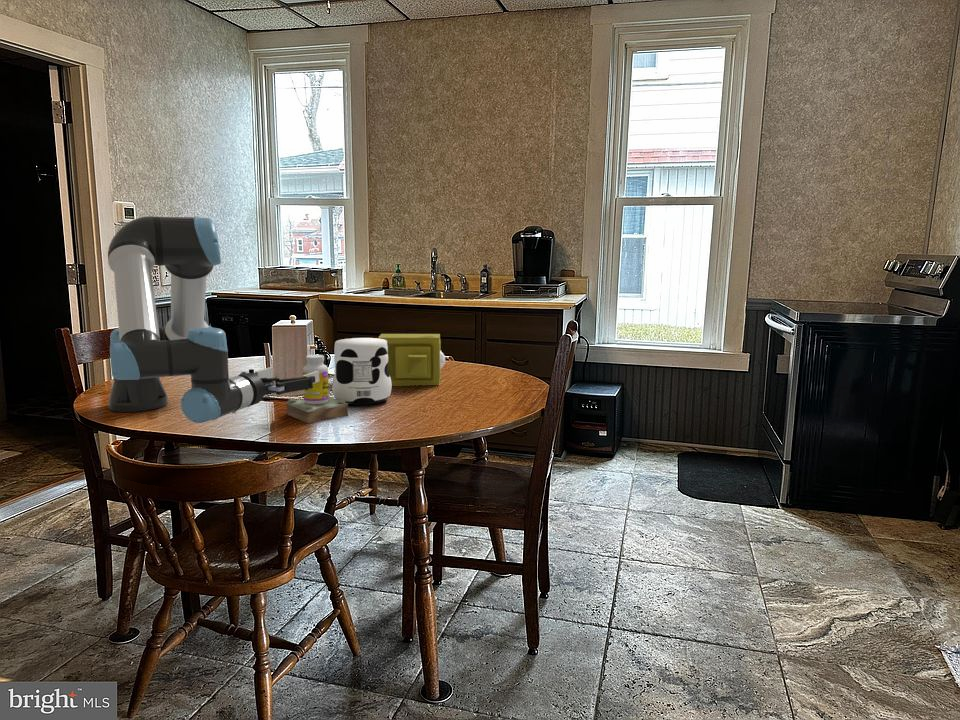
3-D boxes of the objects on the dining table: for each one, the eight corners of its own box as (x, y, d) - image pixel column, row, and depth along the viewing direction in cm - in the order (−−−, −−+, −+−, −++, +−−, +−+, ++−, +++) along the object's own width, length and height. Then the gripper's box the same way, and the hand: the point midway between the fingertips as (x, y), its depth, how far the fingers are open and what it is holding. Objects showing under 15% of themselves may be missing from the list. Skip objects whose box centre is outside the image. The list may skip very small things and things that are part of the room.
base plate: (307, 423, 177) (307, 407, 177) (287, 414, 186) (286, 399, 185) (347, 415, 185) (347, 401, 184) (326, 407, 194) (325, 393, 193)
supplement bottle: (325, 405, 182) (324, 358, 179) (301, 405, 182) (299, 358, 179) (331, 399, 188) (330, 354, 186) (307, 399, 188) (306, 353, 186)
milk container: (365, 392, 214) (363, 335, 211) (404, 400, 203) (403, 341, 200) (320, 402, 201) (318, 341, 197) (359, 411, 190) (357, 348, 187)
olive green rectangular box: (445, 333, 230) (444, 340, 214) (445, 380, 233) (444, 390, 217) (341, 333, 229) (332, 340, 213) (343, 380, 232) (334, 390, 216)
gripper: (197, 403, 159) (254, 384, 179) (289, 412, 151) (338, 392, 171) (195, 371, 158) (253, 356, 177) (287, 379, 150) (337, 363, 170)
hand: (294, 374), depth 174 cm, fingers open, 13 cm apart
